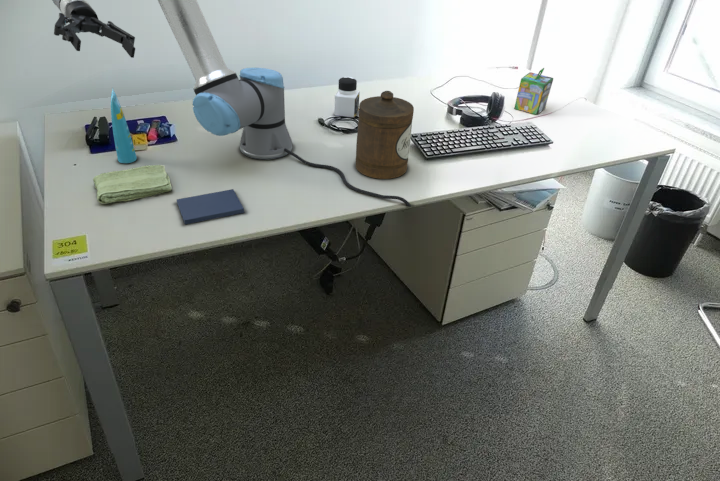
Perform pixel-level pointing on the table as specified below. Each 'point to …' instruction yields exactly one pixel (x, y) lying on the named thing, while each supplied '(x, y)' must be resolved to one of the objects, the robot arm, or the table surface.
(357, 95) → the medicine bottle
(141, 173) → the washcloth
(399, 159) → the wooden container
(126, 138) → the tube
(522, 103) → the chalk box
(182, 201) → the notebook
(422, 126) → the table surface
